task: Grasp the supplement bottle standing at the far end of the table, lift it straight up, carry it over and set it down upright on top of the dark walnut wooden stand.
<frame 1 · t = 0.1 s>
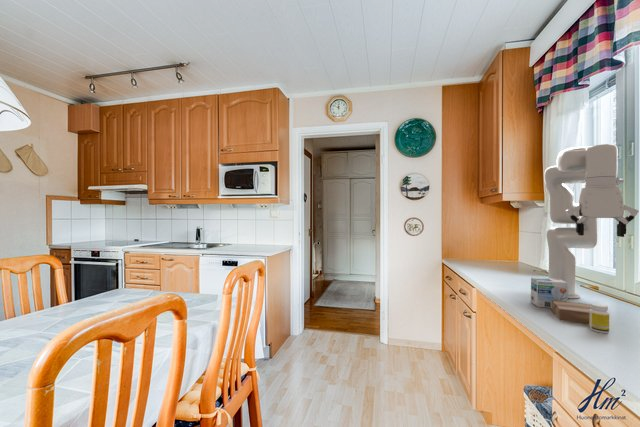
hand: (600, 235, 94), 31 cm above the table, tool pointing down, fingers open, 9 cm apart
supplement bottle: (598, 331, 94), on the table
light bulb box: (548, 306, 119), on the table
walnut stand: (576, 317, 105), on the table
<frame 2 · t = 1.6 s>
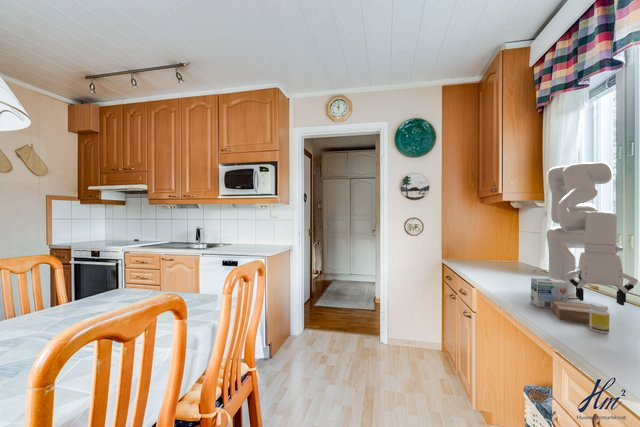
hand: (599, 302, 93), 9 cm above the table, tool pointing down, fingers open, 9 cm apart
nothing on the table moved.
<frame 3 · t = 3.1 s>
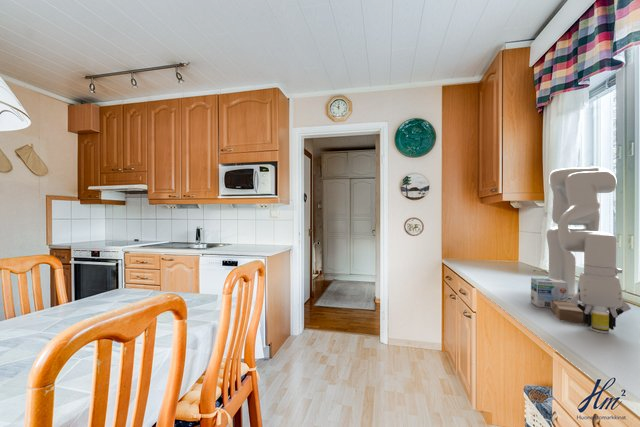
hand: (598, 326, 94), 1 cm above the table, tool pointing down, fingers closed on supplement bottle, 4 cm apart
supplement bottle: (598, 330, 94), on the table, touching gripper
everything else where it was.
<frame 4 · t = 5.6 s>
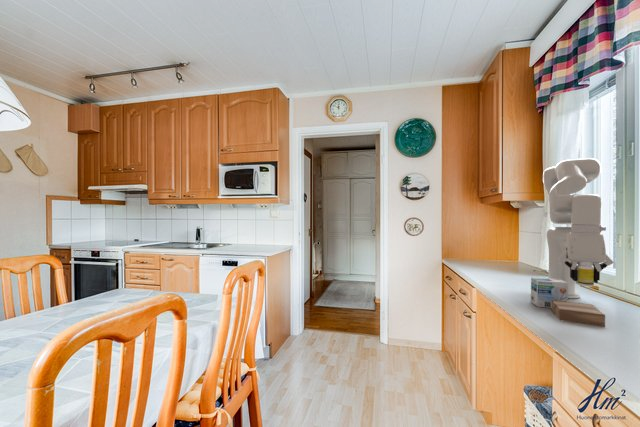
hand: (584, 280, 101), 15 cm above the table, tool pointing down, fingers closed on supplement bottle, 4 cm apart
supplement bottle: (584, 285, 101), point 13 cm above the table, touching gripper
everything else where it was.
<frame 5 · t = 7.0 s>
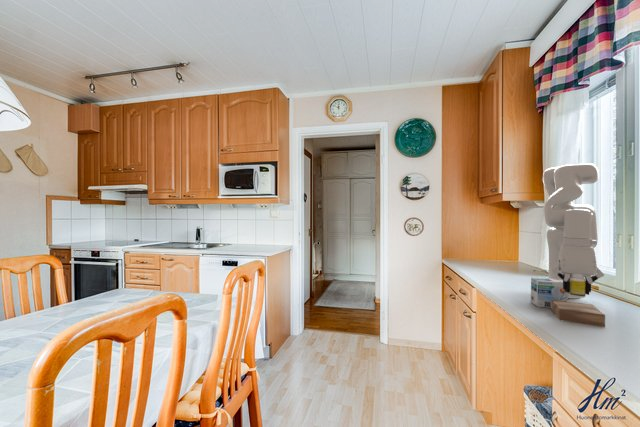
hand: (576, 292, 105), 9 cm above the table, tool pointing down, fingers closed on supplement bottle, 4 cm apart
supplement bottle: (576, 296, 105), point 8 cm above the table, touching gripper
everything else where it was.
when the fingers open (7 cm above the table, at t = 8.1 s): supplement bottle drops 2 cm, resting on walnut stand.
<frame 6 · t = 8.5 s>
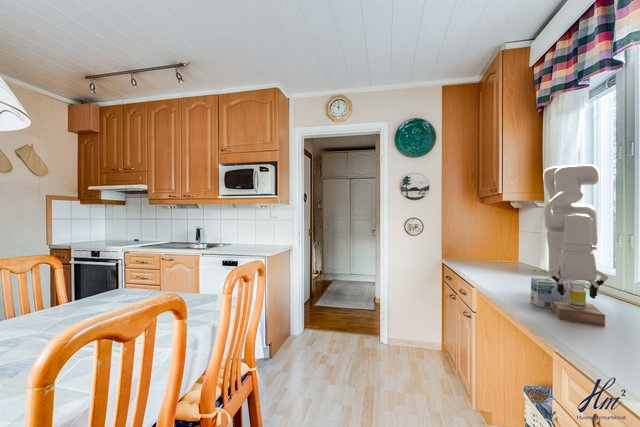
hand: (576, 295, 105), 8 cm above the table, tool pointing down, fingers open, 8 cm apart
supplement bottle: (576, 307, 105), point 4 cm above the table, touching walnut stand
everything else where it was.
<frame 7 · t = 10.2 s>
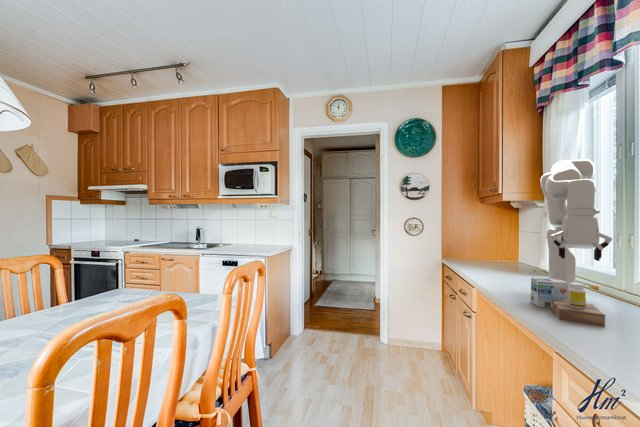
hand: (579, 259, 106), 21 cm above the table, tool pointing down, fingers open, 9 cm apart
nothing on the table moved.
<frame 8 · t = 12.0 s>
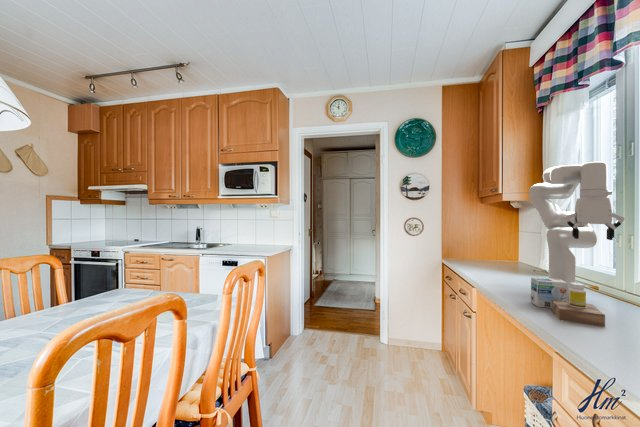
hand: (592, 239, 110), 28 cm above the table, tool pointing down, fingers open, 9 cm apart
nothing on the table moved.
at the end: supplement bottle inside the target area on the walnut stand (0.3 cm from its centre), point 3.8 cm above the walnut stand's base; supplement bottle tilted 1°; the gripper is holding nothing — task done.
